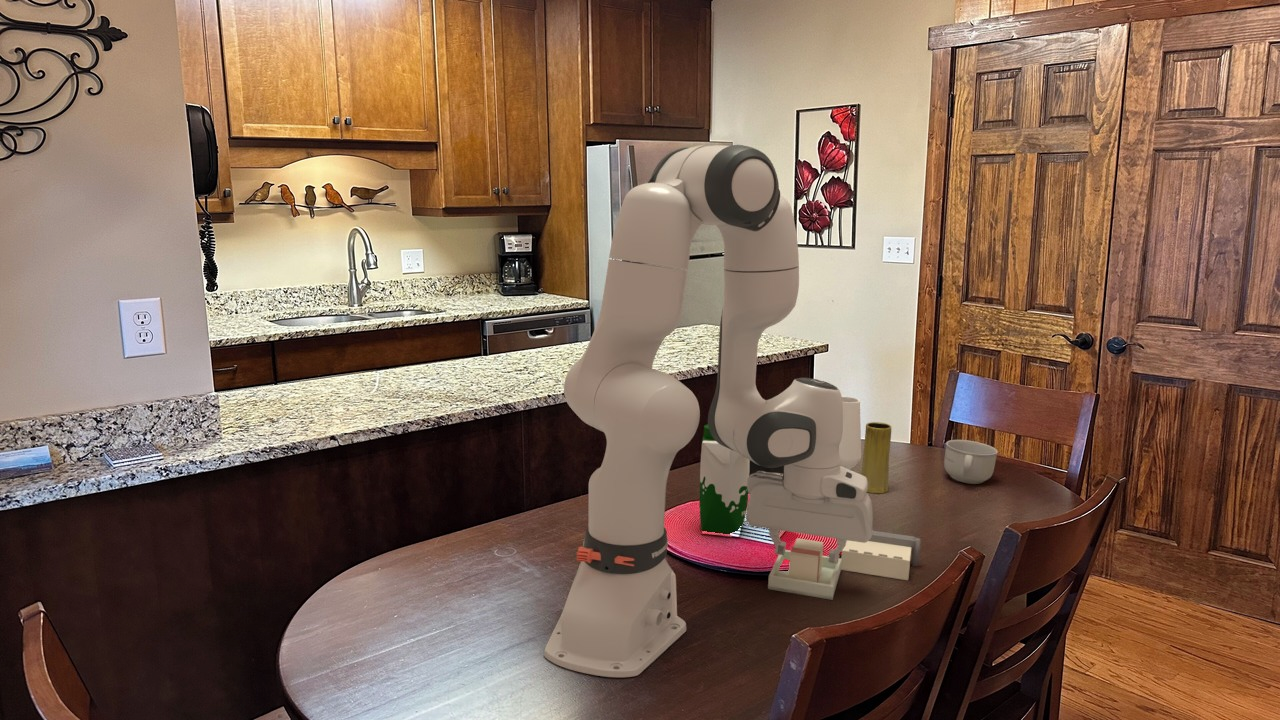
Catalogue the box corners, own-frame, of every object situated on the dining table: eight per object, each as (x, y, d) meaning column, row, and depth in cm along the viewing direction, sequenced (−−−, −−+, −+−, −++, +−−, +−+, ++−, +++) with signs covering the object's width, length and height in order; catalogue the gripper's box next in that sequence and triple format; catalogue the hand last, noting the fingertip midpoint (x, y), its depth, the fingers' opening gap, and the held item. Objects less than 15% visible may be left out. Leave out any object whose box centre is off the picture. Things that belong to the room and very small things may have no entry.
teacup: (950, 468, 199) (953, 435, 197) (999, 478, 192) (1003, 444, 191) (932, 484, 187) (935, 450, 186) (983, 495, 181) (987, 459, 180)
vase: (892, 487, 185) (897, 424, 182) (883, 496, 180) (888, 431, 177) (864, 482, 188) (869, 420, 185) (855, 490, 183) (860, 426, 180)
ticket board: (916, 581, 140) (919, 555, 140) (832, 568, 145) (833, 542, 144) (918, 562, 148) (920, 537, 147) (837, 550, 152) (839, 525, 151)
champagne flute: (835, 527, 163) (843, 405, 158) (814, 514, 169) (822, 397, 164) (863, 522, 166) (872, 402, 161) (842, 510, 172) (850, 394, 167)
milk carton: (701, 518, 166) (705, 419, 162) (748, 522, 164) (752, 422, 160) (695, 536, 158) (698, 432, 154) (744, 540, 156) (749, 435, 152)
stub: (816, 588, 137) (817, 558, 136) (788, 583, 138) (789, 554, 137) (821, 570, 143) (823, 541, 142) (795, 565, 145) (796, 537, 144)
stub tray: (832, 599, 134) (833, 586, 133) (768, 588, 137) (768, 576, 137) (840, 570, 144) (841, 558, 144) (780, 561, 147) (781, 549, 147)
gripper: (743, 475, 138) (740, 555, 140) (874, 492, 131) (867, 575, 134) (752, 463, 143) (748, 540, 146) (877, 479, 137) (871, 559, 139)
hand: (806, 557), depth 140 cm, fingers open, 7 cm apart
